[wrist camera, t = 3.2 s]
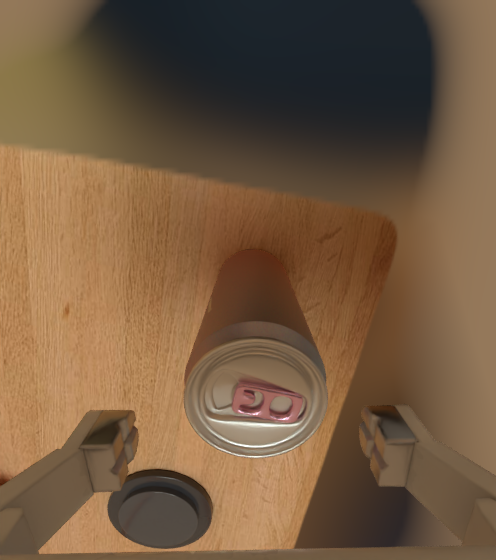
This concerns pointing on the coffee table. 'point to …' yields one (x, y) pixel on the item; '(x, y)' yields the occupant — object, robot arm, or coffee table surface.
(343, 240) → the coffee table surface
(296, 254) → the coffee table surface
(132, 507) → the saucer
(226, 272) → the beverage can
